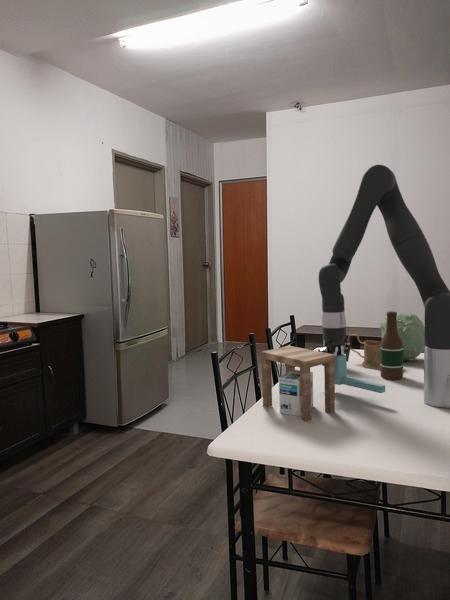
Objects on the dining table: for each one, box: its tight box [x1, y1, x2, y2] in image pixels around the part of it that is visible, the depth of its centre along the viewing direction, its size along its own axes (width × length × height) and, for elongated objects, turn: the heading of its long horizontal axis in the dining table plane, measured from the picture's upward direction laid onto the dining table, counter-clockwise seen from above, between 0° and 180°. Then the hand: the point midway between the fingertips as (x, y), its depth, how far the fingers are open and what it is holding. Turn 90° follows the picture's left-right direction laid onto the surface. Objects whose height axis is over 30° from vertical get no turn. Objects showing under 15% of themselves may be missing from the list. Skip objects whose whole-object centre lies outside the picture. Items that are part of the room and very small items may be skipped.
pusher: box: [334, 354, 386, 394], centre depth 147 cm, size 21×4×9 cm, turn 36°
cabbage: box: [379, 312, 425, 362], centre depth 194 cm, size 16×19×20 cm
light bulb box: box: [278, 369, 314, 417], centre depth 139 cm, size 11×7×11 cm, turn 148°
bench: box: [261, 345, 336, 422], centre depth 139 cm, size 18×12×17 cm, turn 37°
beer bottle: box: [379, 311, 404, 381], centre depth 169 cm, size 8×8×24 cm
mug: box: [347, 333, 381, 370], centre depth 189 cm, size 12×18×12 cm, turn 54°
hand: (335, 376), depth 154 cm, fingers closed on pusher, 4 cm apart
